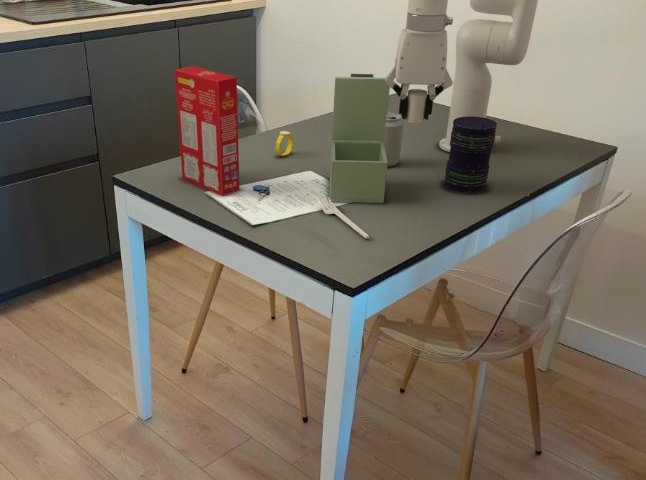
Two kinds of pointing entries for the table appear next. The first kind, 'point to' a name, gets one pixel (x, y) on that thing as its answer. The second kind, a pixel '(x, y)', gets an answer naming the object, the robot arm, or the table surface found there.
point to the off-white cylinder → (416, 105)
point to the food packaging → (208, 129)
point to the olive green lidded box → (358, 172)
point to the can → (393, 138)
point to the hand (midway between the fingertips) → (414, 116)
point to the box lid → (360, 108)
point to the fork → (340, 215)
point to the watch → (279, 140)
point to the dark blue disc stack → (469, 154)
